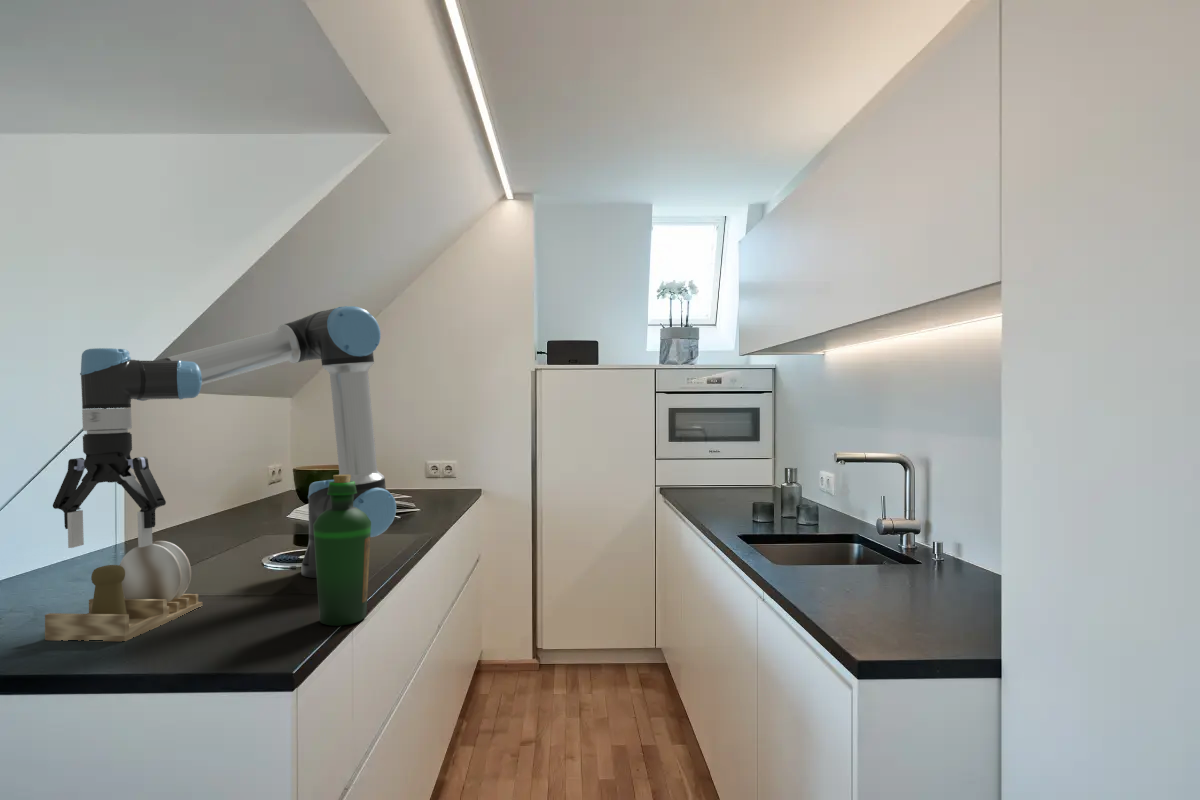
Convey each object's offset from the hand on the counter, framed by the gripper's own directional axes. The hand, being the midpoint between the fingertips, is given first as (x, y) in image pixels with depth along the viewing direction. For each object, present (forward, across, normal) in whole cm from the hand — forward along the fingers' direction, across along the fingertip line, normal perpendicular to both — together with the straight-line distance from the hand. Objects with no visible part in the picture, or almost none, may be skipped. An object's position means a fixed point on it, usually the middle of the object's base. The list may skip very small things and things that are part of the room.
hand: (110, 546), depth 133 cm
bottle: (+16, +40, +8) cm, 44 cm away
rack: (+16, 0, +5) cm, 16 cm away
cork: (+15, 0, 0) cm, 15 cm away
